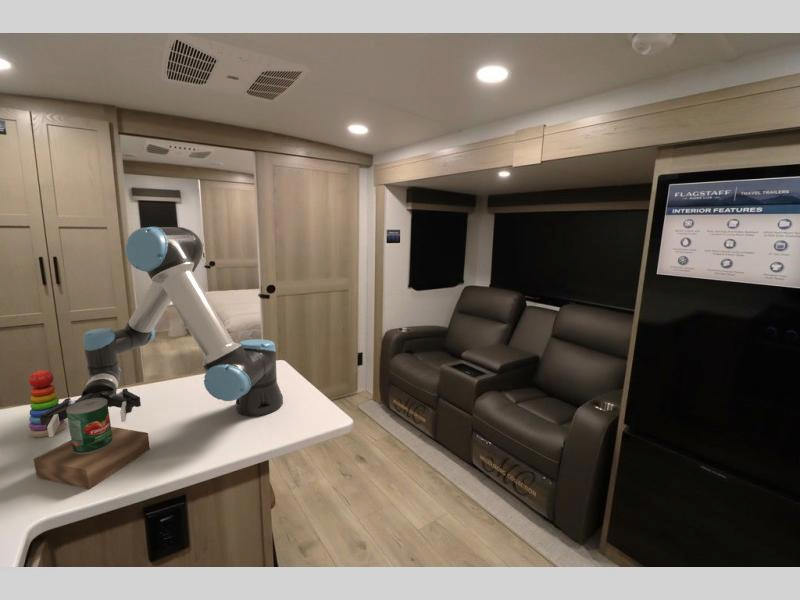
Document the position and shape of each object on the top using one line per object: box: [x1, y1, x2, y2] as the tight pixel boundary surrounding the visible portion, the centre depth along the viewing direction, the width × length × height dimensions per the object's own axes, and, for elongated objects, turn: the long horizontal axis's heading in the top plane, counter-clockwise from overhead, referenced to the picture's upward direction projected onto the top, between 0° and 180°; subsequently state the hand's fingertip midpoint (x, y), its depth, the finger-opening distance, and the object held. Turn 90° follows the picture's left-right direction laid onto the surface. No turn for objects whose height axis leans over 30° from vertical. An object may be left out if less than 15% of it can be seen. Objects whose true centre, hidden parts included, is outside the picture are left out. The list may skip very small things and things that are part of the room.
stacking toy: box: [28, 369, 67, 438], centre depth 106 cm, size 8×8×19 cm
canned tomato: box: [66, 398, 113, 454], centre depth 92 cm, size 8×8×11 cm
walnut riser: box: [33, 426, 151, 490], centre depth 94 cm, size 16×16×5 cm
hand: (87, 424), depth 89 cm, fingers open, 13 cm apart
